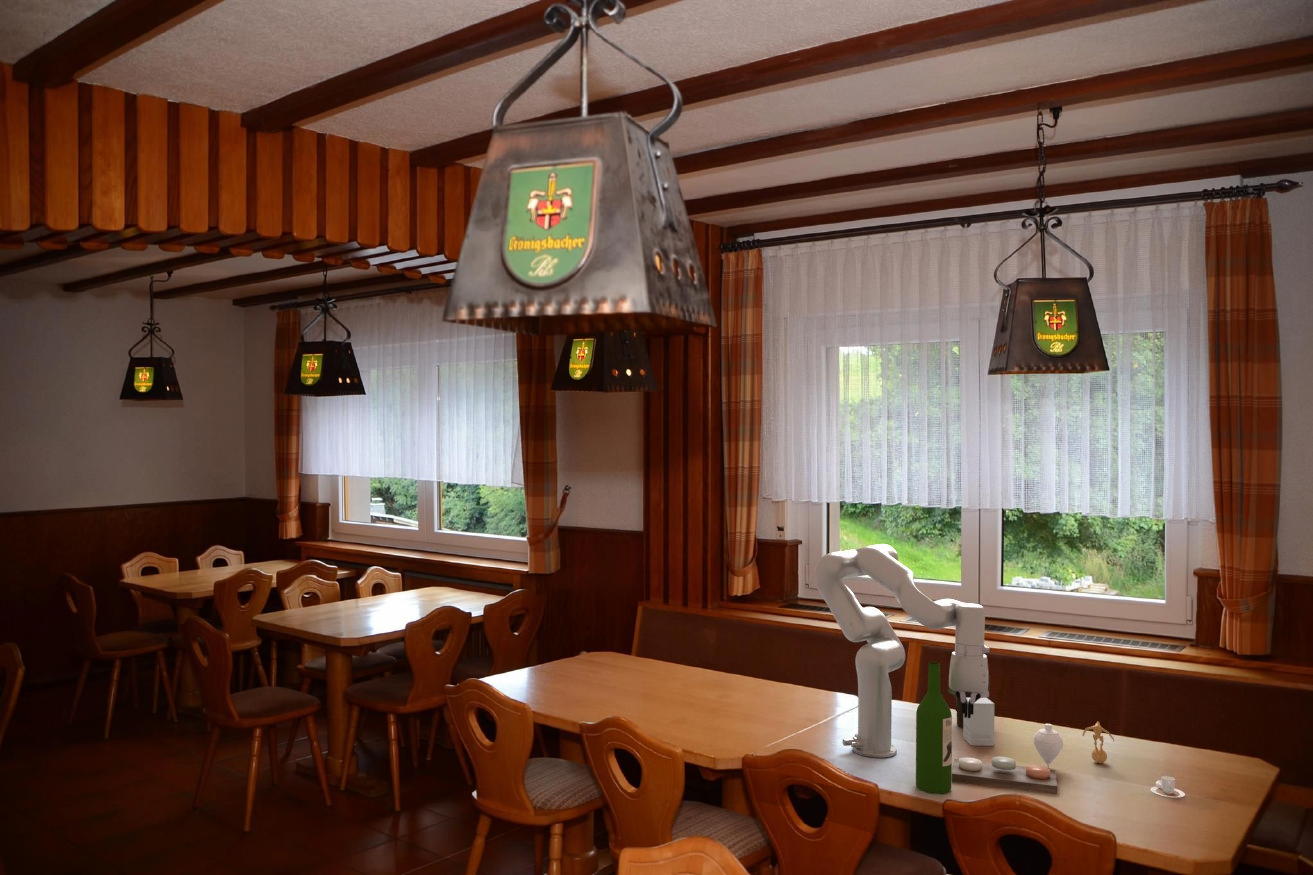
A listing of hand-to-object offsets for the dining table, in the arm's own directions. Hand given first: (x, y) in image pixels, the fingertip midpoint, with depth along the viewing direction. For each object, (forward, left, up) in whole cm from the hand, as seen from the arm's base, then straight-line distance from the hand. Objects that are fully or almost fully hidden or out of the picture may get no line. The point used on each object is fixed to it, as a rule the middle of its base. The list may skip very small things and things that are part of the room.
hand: (967, 716), depth 262 cm
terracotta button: (+14, -11, -13) cm, 22 cm away
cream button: (0, -1, -13) cm, 13 cm away
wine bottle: (-15, -7, -16) cm, 23 cm away
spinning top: (+25, -1, -16) cm, 30 cm away
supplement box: (+20, +24, -16) cm, 35 cm away
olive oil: (+28, +39, -16) cm, 50 cm away
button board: (+7, -6, -16) cm, 18 cm away
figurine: (+41, -2, -16) cm, 44 cm away
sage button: (+7, -6, -12) cm, 15 cm away
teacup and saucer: (+46, -25, -16) cm, 55 cm away
